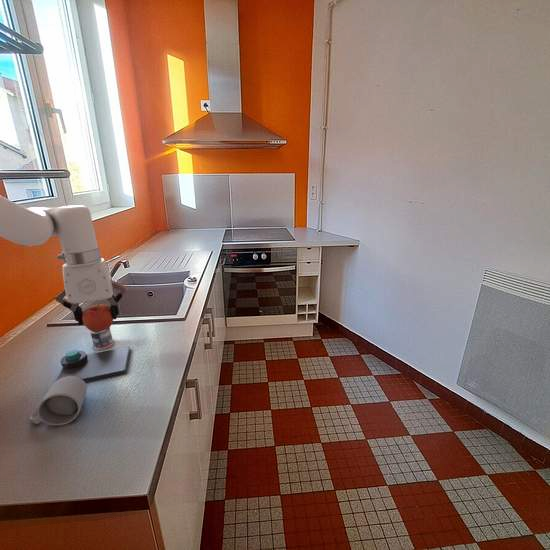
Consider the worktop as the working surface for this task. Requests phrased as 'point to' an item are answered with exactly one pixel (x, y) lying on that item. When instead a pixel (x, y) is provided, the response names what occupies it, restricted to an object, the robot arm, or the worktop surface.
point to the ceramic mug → (61, 402)
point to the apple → (97, 318)
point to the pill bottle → (102, 339)
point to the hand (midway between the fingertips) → (98, 319)
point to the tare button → (72, 355)
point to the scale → (96, 365)
